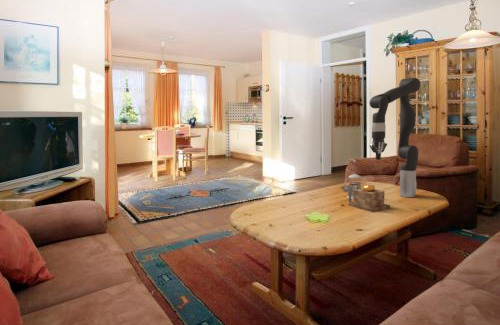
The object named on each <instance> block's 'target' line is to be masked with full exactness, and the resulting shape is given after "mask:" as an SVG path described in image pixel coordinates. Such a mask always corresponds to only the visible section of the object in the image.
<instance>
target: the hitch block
mask: <svg viewBox="0 0 500 325" xmlns="http://www.w3.org/2000/svg"><path fill="white" fill-rule="evenodd" d="M347 205H348V206H349V207H353V208H356V209H361V210H363V211H366V212H369V213H370V212H371V213H374V212H378V211H382V210H387V209H391V204H387V203H385V190H381V189H376V188H375V191H374V192H366V191H364V188H361V189H358V190H354V199H353V201H351V202H348V204H347Z"/></svg>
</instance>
